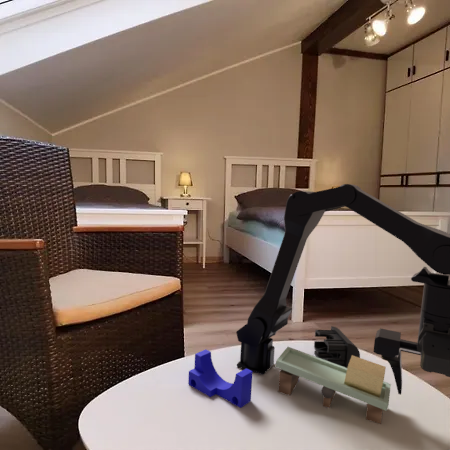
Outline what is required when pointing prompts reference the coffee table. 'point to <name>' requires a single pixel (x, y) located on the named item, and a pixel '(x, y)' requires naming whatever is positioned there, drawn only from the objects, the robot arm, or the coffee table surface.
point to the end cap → (335, 347)
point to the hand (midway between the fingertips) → (429, 401)
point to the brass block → (365, 376)
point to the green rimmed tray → (328, 376)
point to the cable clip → (220, 381)
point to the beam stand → (290, 381)
